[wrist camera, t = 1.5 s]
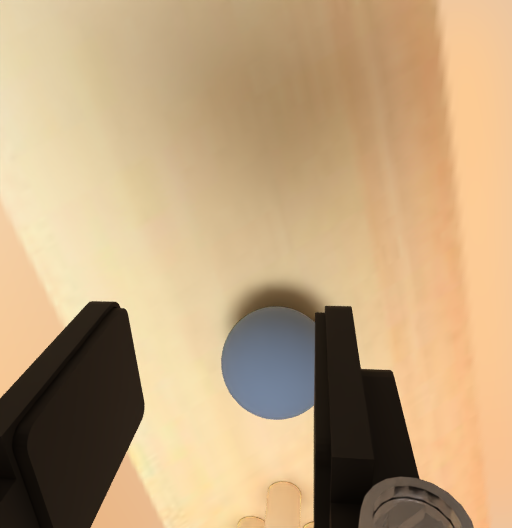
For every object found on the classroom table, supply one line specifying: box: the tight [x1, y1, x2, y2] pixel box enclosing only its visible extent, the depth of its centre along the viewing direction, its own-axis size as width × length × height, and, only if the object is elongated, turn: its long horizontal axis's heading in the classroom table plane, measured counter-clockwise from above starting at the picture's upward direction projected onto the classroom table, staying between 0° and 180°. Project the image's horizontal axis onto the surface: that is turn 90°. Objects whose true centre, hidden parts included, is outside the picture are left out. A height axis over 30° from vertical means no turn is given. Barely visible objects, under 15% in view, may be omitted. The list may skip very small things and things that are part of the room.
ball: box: [221, 306, 315, 420], centre depth 25 cm, size 6×6×6 cm
